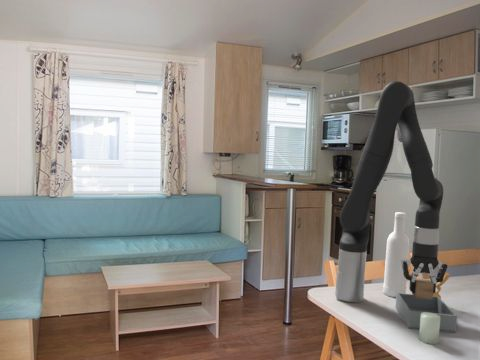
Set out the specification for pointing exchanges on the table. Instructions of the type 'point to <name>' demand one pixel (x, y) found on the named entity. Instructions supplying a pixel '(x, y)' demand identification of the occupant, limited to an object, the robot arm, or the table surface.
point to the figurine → (441, 285)
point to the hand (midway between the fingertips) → (422, 293)
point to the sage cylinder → (429, 328)
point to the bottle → (396, 258)
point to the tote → (414, 307)
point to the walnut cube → (423, 289)
